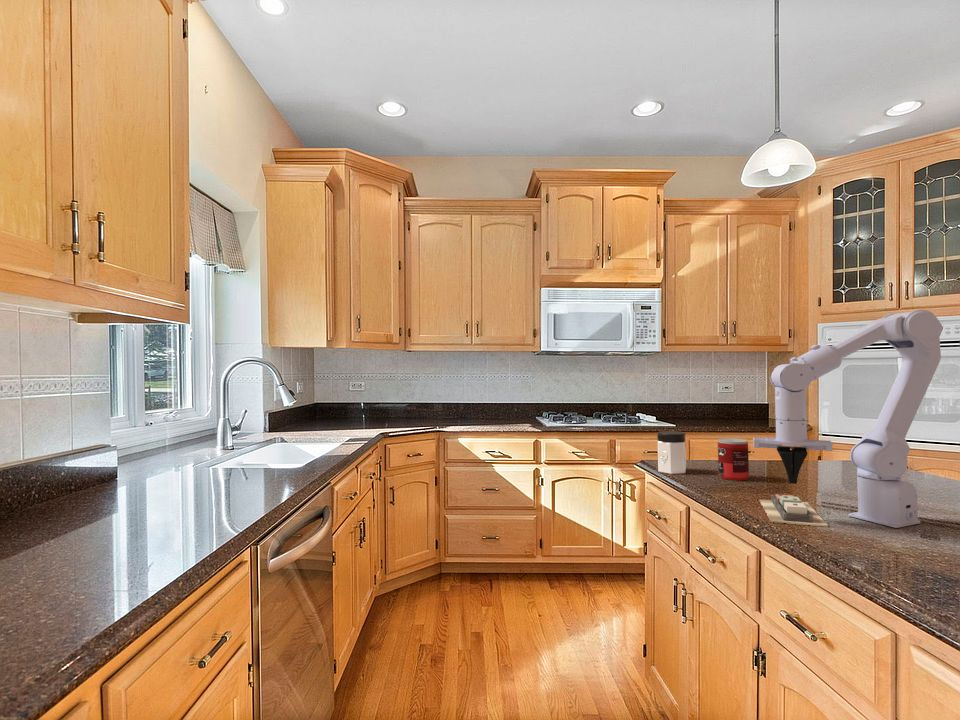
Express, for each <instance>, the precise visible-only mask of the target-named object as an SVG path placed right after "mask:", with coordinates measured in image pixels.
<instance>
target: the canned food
mask: <svg viewBox="0 0 960 720" xmlns="http://www.w3.org/2000/svg"><path fill="white" fill-rule="evenodd" d="M717 456H718V457H717V463H718V467H717V468H718V476H719V478H720V477H721V478H720V479H722V478H723V479H722V480H725V479H728V480H727V481H732V480H736V481H735V482H737V481H738V482H743V480H745V481H747V480H748V479H749V477H750V470H749V469H750V465H749V464H750V463H749V442H748V440H747V439H743V438H736V437H735V438H733V437H731V438H727V437H726V438H724V437H723V438H722V437H721V438H718V439H717Z"/></svg>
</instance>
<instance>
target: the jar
mask: <svg viewBox="0 0 960 720" xmlns="http://www.w3.org/2000/svg"><path fill="white" fill-rule="evenodd" d="M656 438H657V471H658V472H659V473H664V474H670V475H675V474H676V475H677V474H686V472H687V457H686V456H687V453H686V448H687V447H686V432H683V431H677V430H664V431H663V430H662V431H658V432H657V437H656Z"/></svg>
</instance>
